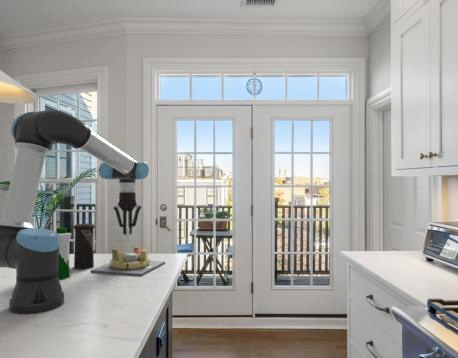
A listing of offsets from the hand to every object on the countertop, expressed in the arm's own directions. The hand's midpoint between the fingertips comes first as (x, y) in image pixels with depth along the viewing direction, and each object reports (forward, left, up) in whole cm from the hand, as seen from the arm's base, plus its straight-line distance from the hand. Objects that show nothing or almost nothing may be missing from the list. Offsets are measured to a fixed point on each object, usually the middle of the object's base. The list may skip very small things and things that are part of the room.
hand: (127, 241), depth 167 cm
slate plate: (-6, -5, -11) cm, 13 cm away
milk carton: (-29, +15, -11) cm, 35 cm away
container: (-10, +16, -11) cm, 22 cm away
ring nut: (-6, -5, -10) cm, 12 cm away
